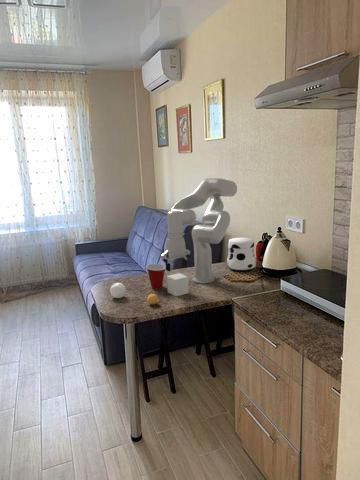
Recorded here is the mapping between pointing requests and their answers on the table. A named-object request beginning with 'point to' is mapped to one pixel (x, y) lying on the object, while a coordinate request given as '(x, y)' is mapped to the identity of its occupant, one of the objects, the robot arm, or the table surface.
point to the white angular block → (177, 284)
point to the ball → (152, 299)
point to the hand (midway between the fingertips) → (176, 269)
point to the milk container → (241, 254)
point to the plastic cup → (156, 275)
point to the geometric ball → (117, 290)
